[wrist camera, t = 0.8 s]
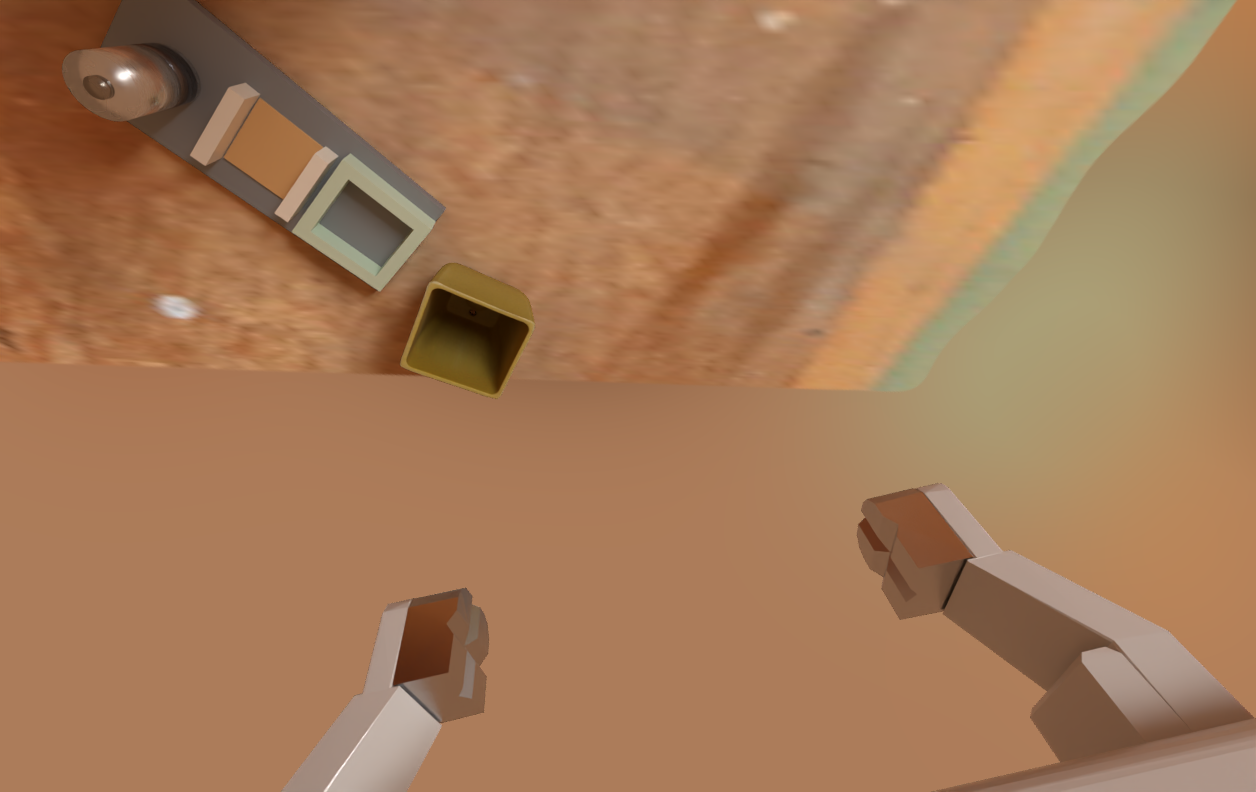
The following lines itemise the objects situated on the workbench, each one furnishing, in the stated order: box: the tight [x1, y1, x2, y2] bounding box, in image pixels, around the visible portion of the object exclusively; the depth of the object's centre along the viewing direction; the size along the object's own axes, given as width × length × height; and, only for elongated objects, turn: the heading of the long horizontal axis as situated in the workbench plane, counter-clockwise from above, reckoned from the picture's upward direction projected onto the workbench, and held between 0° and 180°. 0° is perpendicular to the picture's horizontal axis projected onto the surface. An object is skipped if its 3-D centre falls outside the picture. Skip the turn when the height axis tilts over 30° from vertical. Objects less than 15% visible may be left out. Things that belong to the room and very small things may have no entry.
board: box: [100, 0, 445, 291], centre depth 40 cm, size 22×10×1 cm, turn 44°
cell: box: [62, 43, 201, 121], centre depth 32 cm, size 4×4×8 cm
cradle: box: [190, 83, 338, 222], centre depth 38 cm, size 7×6×2 cm
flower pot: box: [400, 263, 535, 399], centre depth 46 cm, size 9×9×9 cm
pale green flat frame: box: [292, 153, 435, 291], centre depth 42 cm, size 8×8×2 cm
